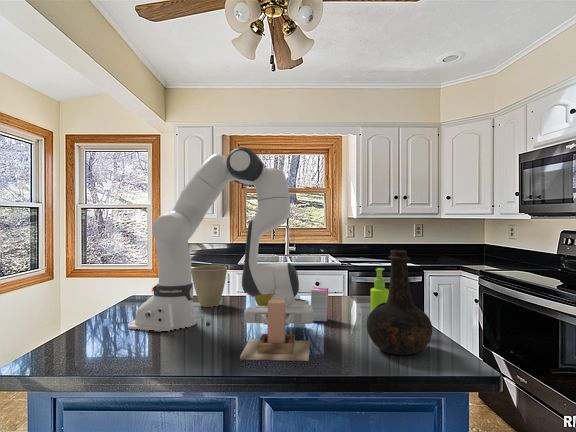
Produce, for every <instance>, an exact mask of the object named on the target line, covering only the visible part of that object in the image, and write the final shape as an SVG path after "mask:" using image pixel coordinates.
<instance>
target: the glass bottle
mask: <svg viewBox="0 0 576 432" xmlns="http://www.w3.org/2000/svg"><path fill="white" fill-rule="evenodd" d="M389 252H390V255H388V257H387V258H388V259H389V260H390V279H389V289H388V290H389V295H388V300H387V302H386V303H381V304H379V305H378V306H376V307H375V309H374V310H372V312H371V311H370V313H369V315H367V319H366V330H367V331H366V332H367V333H368V336H369V338H370V340H371V341H372V342H373V344H374V345H375V346H376V347H377V348H379V350H381V351H383V352H385V353H386V354H391V355H396V356H397V355H398V356H409V355H415V354H416V353H419V352H421V351H422V350H424V348H426V347H427V346H428V344H429V342H430V341H431V339H432V336H433V325H432V321H431V319H430V317H429V316H428V315H427V313H425V312H424V311H423V310H421V308H418V307H417V306H416V305H415V303H414V301H413V298H412V293H411V289H410V283H409V282H410V280H409V271H408V260H410V259H411V257H410V256H408V251H407V250H403V249H391V250H390V251H389Z"/></svg>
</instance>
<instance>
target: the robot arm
mask: <svg viewBox="0 0 576 432" xmlns="http://www.w3.org/2000/svg"><path fill="white" fill-rule="evenodd" d="M233 181H234V183H237V184H240V185H244V186H247V187H255V190H256V192H255V193H256V197H257V199H256V200H257V209H256V212H255V214H254V216H253V217H251V218H250V219H249V222H248V226H247V231H246V233H247V234H246V239H245V240H246V242H245V252H244V262H243V264H244V265H243V269H242V270H243V271H242V274H241V275H242V276H241V287H242V291H244V293H245V294H247V295H249V296H250V297H252V298H253V297H254V296H259V295H262V294H273V293H275V294H274V295H273V296H272V298H271V300H285V326H290V325H291V324H292V325H294V324H301V325H302V324H303V325H306V324H307V325H311V324H313V323H314V322H313V309H312V307H311V304H310V302H309V300H307V299H301V298H297V295H298V294H299V291H300V284H299V281H300V280H299V276H298V275H299V274H298V272H297V269H296V268H295V266H294V265H292V264H291V263H290V262H279V263H277V262H276V263H272V264H271V263H270V264H260V265H259V264H258V257H259V248H260V247H259V246H260V241H261V239H262V237H263V236H264V235H266V234H267V233H269V232H271V231H272V230H275V229H277V228H278V227H280V226H282V225H283V224H285V223H286V221H287V220H288V219H289V217H290V214H291V198H290V191H289V185H288V181H287V177H286V175H285V173H284V171H282V169H279V168H275V167H271V168H267V167H266V166H265V164H264V162H263V160H262V159H261V157H260V156H259V155H257V154H256V152H255V151H254V150H252V149H250V148H248V147H244V146H243V147H242V146H240V147H236V148H234V149H233V150H231V151H230V152H229V154H228V155H227V156H226V155H224V154H221V153H220V154H219V153H214V154H212V155H211V156H209V157H208V158H207V159H206V160H205V161H204V162H203V163H202V164H201V165H200V166H199V167H198V169H196V171H195V172H194V174H193V176H192V177H191V178H190V179H189V181H188V182H187V184H186V185H185V186H184V187H183V189H182V191H181V192H180V194H179V197H178V199H177V200H176V203H175V205H174V206H173V208H172V210H171V211H170V212H169V211H167V212H163V213H162V214H161V215H158V217H157V218H155V220H154V221H153V223H152V226H151V227H152V228H151V231H152V232H151V233H152V236H153V237H154V244H155V250H156V255H157V262H158V283H157V284H156V285H155V286H153V287H151V292H153V295H152V296H151V297H149V298H148V299H147V300H146V301H144V302H143V303H142V304H141V305H140V306H139V307H138V308H137V310H136V312H135V319H133V320H132V321H130V322H128V327H127V329H129V330H136V329H138V330H139V329H140V330H139V331H149V330H154V331H153V332H161V331H168V332H171V331H170V330H172V331H174V330H173V329H176V330H178V329H177V328H182V329H186V328H185V327H187V328H190V327H193V326H195V325H196V324H197V323H198V322H197V320H196V315H195V312H194V311H195V310H194V305H193V304H194V303H193V299H194V284H193V279H192V273H191V268H192V259H191V253H190V246H189V240H190V239H191V238H192V236H193V235H194V234H195V232H196V230H197V229H198V227H199V226H200V225H201V223H202V221H203V219H204V217H205V216H206V214H207V212H208V211H209V210H210V208H211V206H212V205H213V204H214V203H215V201H217V198H218V197H219V196H220V194H221V193H222V192H223V190H224V189H225V187H226V186H227V185H228V184H229V183H230V182H233ZM243 313H244V314H243V319H244V320H243V322H245V323H246V324H263V325H267V326H268V305H267V306H258V305H250V306H249V307H247V308H246V309H245V310H244V311H243Z"/></svg>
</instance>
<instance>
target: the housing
mask: <svg viewBox="0 0 576 432" xmlns="http://www.w3.org/2000/svg"><path fill="white" fill-rule="evenodd" d="M295 336H296V335H295V333H293V334H290V333H289V334H287V333H286V342H285V343H268V333H262V334H261V335H260V338H259V339H248V341H247V343H246V344H245V347H244V349H243V350H242V352H241V354H240V356H239V360H245V361H246V360H248V361H249V360H250V361H252V360H253V361H255V360H256V361H257V360H258V361H292V362H293V361H295V362H296V361H299V362H304V361H305V362H309V361H310V360H309V359H310V346H311V345H310V344H311V343H310V340H296V339H295V338H296V337H295Z"/></svg>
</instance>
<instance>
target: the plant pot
mask: <svg viewBox="0 0 576 432" xmlns="http://www.w3.org/2000/svg"><path fill="white" fill-rule="evenodd" d="M227 270H228V267H227V266H225V265H224V266H223V265H203V266H202V265H201V266H194V267H191V275H192V283H193V289H194V291H195V294H196V297H197V300H198V302H199V305H200V307H201V306H204V307H211V308H214V307H213V306H216V307H218V306H220V302H221V300H222V297H223V294H224V289H225V284H226V279H227V272H228V271H227ZM217 305H218V306H217ZM204 307H203V308H204Z"/></svg>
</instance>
